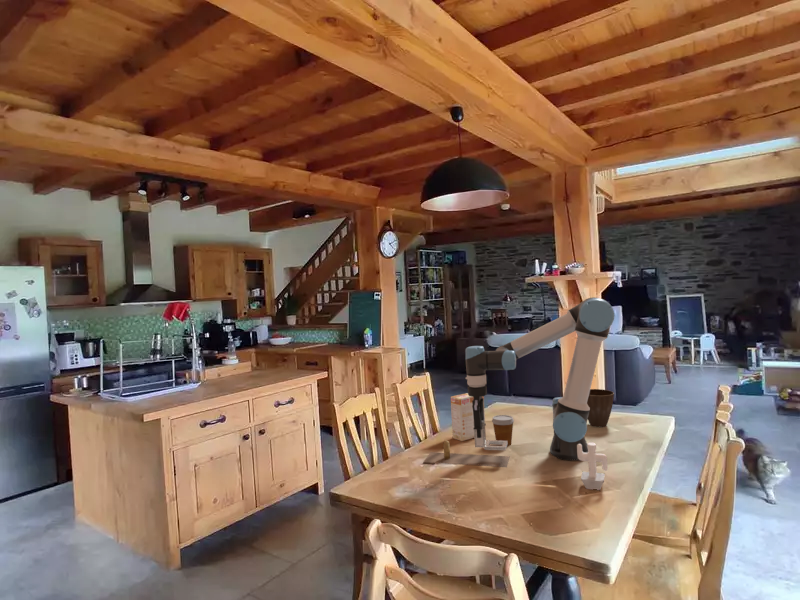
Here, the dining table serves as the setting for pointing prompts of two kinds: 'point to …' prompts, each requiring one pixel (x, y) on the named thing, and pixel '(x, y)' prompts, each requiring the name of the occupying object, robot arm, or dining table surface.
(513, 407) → the dining table surface
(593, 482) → the figurine
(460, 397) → the coffeecake box
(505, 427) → the disposable coffee cup
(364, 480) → the dining table surface
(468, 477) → the dining table surface
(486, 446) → the tie down link
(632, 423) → the dining table surface
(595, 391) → the plant pot
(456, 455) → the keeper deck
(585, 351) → the robot arm
